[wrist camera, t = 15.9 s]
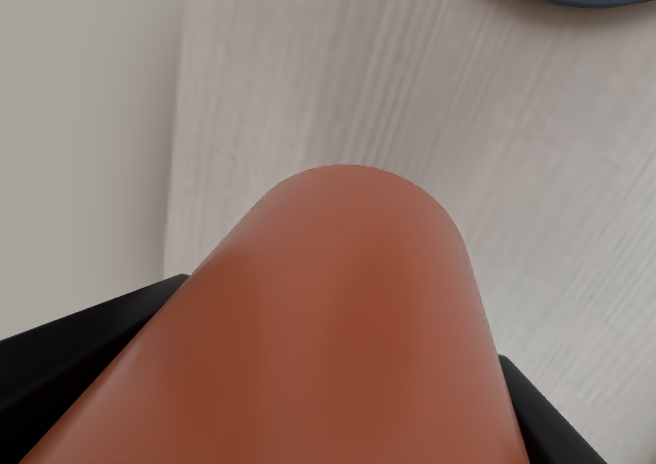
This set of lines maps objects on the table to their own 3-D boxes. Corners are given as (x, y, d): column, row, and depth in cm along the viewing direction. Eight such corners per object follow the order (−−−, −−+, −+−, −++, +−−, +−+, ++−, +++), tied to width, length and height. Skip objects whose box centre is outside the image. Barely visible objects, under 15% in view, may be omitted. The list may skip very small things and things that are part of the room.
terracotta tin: (428, 388, 11) (474, 1042, 4) (229, 335, 11) (-70, 838, 4) (507, 197, 8) (1074, 1054, 1) (248, 137, 9) (-407, 543, 2)
